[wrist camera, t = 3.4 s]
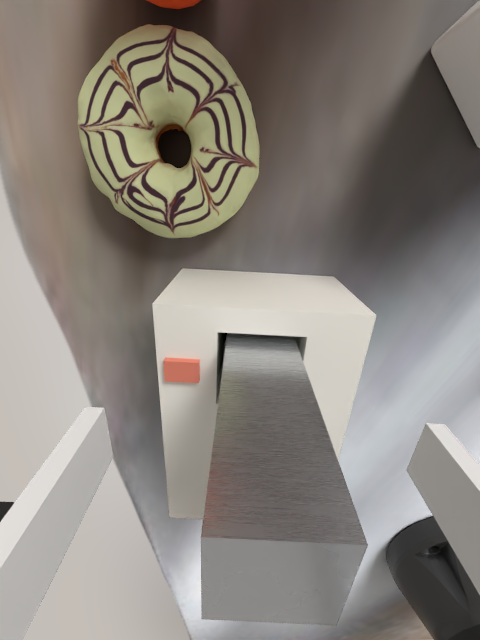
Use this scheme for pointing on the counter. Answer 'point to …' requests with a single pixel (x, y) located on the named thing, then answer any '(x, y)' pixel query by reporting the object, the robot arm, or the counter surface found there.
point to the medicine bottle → (462, 66)
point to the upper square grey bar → (275, 495)
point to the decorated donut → (162, 115)
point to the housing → (209, 348)
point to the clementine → (174, 3)
